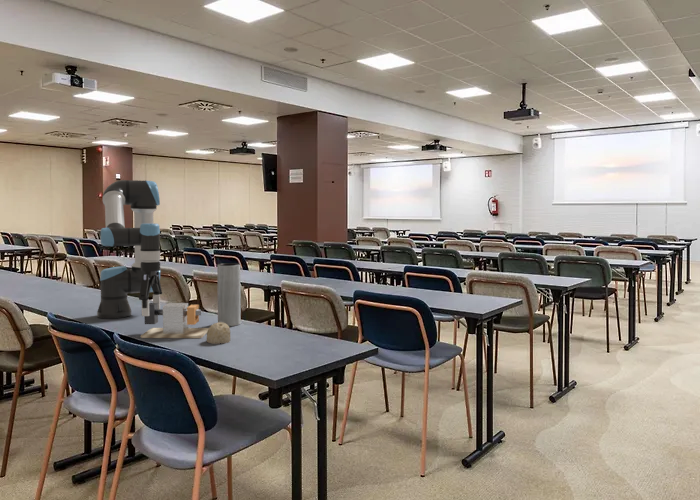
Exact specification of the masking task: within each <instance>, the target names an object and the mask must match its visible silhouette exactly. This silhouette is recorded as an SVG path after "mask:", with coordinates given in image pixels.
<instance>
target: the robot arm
mask: <svg viewBox="0 0 700 500" xmlns="http://www.w3.org/2000/svg"><path fill="white" fill-rule="evenodd" d="M159 193H160V192H159V188H158V184H157V182H156V181H152V180H146V179H145V180H137V179H135V180H134V179H133V180H131V179H130V180H128V179H127V180H126V179H120V180H117V181H114V182H112V183H111V184H110V185H108V186H107V187H106V188H105V190H104V191H103V193H102V203H103V205H104V211H105V212H104V214H105V215H104V219H105V221H104V222H105V223H104V224H105V227H102V228H101V229H100V244H101V245H102V246H104V247H129V246H131V247H133V246H134V262H133V263H132V265H131V268H129V269H128V267H127V266H124V265H122V266H121V265H120V266H114V267H109V268H108V267H107V268H104V269H102V270H101V271H100V277H99V281H100V302H99V305H98V309H97V311H96V317H97V318H99V319H108V320H110V319H122V318H127V317H130V316H132V309H131V306H130V303H129V300H128V294H138V293H139V296H138V300H140V301H141V317H144V316H149V303H150V299H149V297H150V293H153V294H152V303H158V309H161V295H163V290H162V286H161V262H160V261H161V249H160V248H161V246H160V245H161V243H160V242H161V241H160V240H161V239H160V238H161V236H160V235H161V231H160V224H159V223H154V212H155V211H156V210H157V206H158V207H159V206H160V204H161V203H160V194H159ZM126 205H127V206H130V209H131V210H132V212H133V213H134V214H133V216H134V217H133V218H134V220H133V221H134V226H133V227H125V212H124V211H125V210H124V209H125V208H124V206H126Z"/></svg>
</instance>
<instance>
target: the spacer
mask: <svg viewBox="0 0 700 500" xmlns="http://www.w3.org/2000/svg"><path fill="white" fill-rule="evenodd" d="M199 308H200V305H199V304H190V305H188V307H187V325H188V326H189V325H191V326H193V325H194V326H195V325H196V324H197V323H199V322H200V315H195V311H196V310H200V309H199Z"/></svg>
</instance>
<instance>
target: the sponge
mask: <svg viewBox="0 0 700 500" xmlns="http://www.w3.org/2000/svg"><path fill="white" fill-rule="evenodd" d="M230 327H231V326H228V325H227V324H226V323H224V322H219V323H218V322H214V323H213V324H211V325H210V326H209V327H208V328H209V329H208V332H207V333H206V342H207V343H208V344H211V345H212V344H213V345H220V343H221V344H228V343H230V342H231V330H230V329H231V328H230Z"/></svg>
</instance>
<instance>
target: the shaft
mask: <svg viewBox="0 0 700 500" xmlns="http://www.w3.org/2000/svg"><path fill="white" fill-rule="evenodd" d="M185 315H187V310H185ZM195 315H199V316H202V310H201V309H199V310H196V311H195ZM159 316H163V308H162V309H161V308H160V309H158V303H153V302H149V316H143V317H144V325H156V324H157V323H158V322H159Z"/></svg>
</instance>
